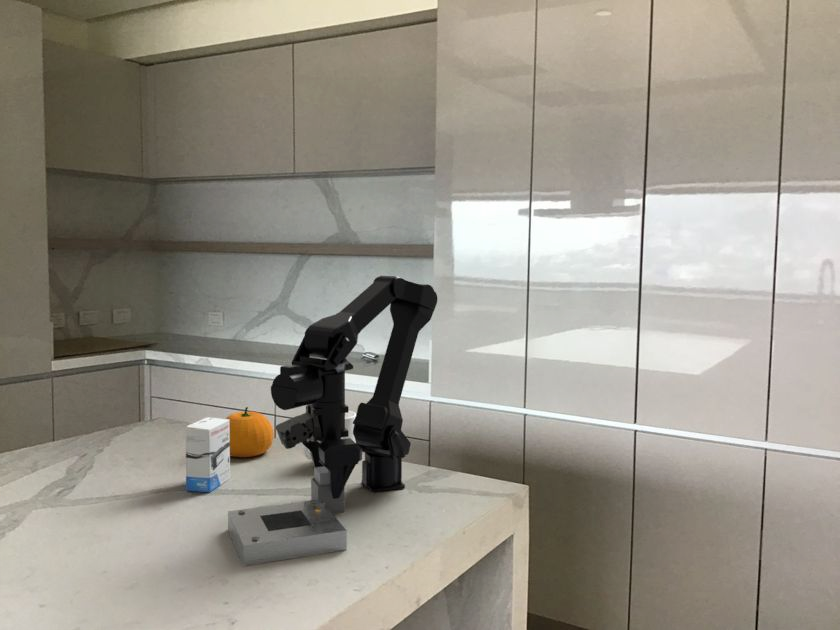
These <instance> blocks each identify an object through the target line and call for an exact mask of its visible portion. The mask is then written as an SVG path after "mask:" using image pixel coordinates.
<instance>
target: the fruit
mask: <svg viewBox="0 0 840 630" xmlns="http://www.w3.org/2000/svg"><path fill="white" fill-rule="evenodd" d="M248 408H249V407H248V406H246V407H245V409H244V411H239V412H238V411H237V412H235V413H231V414H230V415H228V416H227V417H226V418H225V419H229V420H230V421H229V428H230V457H235V458H251V457H256V456H257V457H258V456H260V455H261V454H264V453H266V452H267V451H268V450H269V449H270V448H271V447H272V445H273V441H274V435H275V431H274V428H273V425H272V423H271V422H270V420H269V419H268V418H267V417H265V416H264V415H263V414H262V413H260V412H257V411H248Z"/></svg>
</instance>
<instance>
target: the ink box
mask: <svg viewBox="0 0 840 630" xmlns="http://www.w3.org/2000/svg"><path fill="white" fill-rule="evenodd" d="M229 421H230V420H229V419H226V418H219V417H210V416H208V417H204V418H202V419H200V420H198V421H194V423H190V424H188V425H186V428H185V429H184V430H185V491H187V492H188V491H190V492H201V493H211V492H213V491H215V490H216V489H217V488H219V487H220V486H221V485H223V484H224V483H226V482H227V481H228V480H230V479H231V456H230V428H229Z"/></svg>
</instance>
